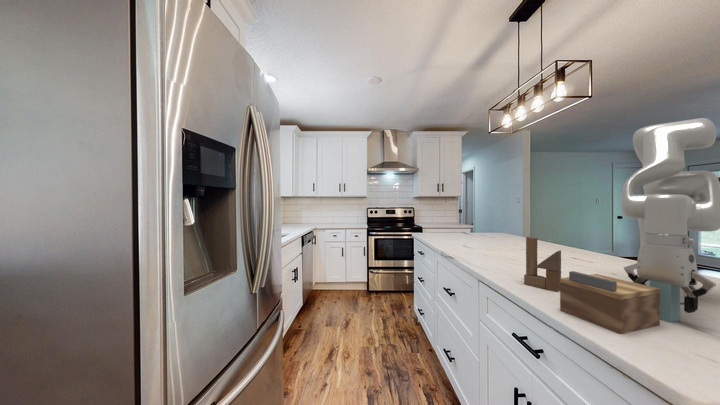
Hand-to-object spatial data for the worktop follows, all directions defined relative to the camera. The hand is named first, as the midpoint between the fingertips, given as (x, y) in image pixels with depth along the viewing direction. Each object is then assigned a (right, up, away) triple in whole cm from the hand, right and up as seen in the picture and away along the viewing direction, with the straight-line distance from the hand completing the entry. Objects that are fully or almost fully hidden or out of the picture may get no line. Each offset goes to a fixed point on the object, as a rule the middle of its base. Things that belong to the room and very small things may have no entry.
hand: (664, 304), depth 70 cm
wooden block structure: (-15, -4, +26) cm, 30 cm away
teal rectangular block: (0, -4, 0) cm, 4 cm away
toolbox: (-15, -4, +1) cm, 15 cm away
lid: (-15, +4, +1) cm, 15 cm away
